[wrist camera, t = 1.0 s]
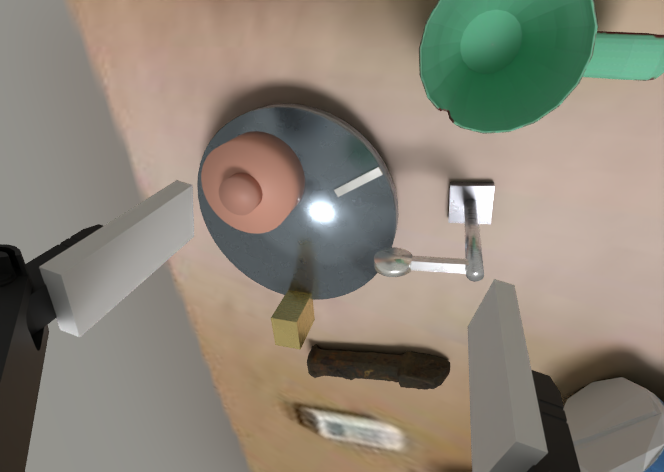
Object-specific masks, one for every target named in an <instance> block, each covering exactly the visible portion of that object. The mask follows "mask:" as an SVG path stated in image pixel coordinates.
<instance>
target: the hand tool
mask: <svg viewBox="0 0 664 472" xmlns="http://www.w3.org/2000/svg"><path fill="white" fill-rule="evenodd" d="M307 366H308V371H309V374H310V375H311V376H313V377H314V378H316V377H320V376H334V377H343V378H345V379H350V380H353V379H354V378H358V379H360V378H362V379H374V380H385V381H386V380H387V381H394V382H399V384H400V387H405V388H417V389H429V388H430V389H434V388H436V387H437V386H440V385H441V384H442V383H443V381H444V380H445V379H446V377H447V376H448V375H449V372H450V362H449V361H447V360H445V359H443V358H440V357H436V356H432V355H426V354H420V353H415V352H411V351H406V352H405V353H404V354H399V355H394V354H384V353H375V352H353V351H343V350H341V351H337V350H322V349H319V348H318V346H317V345H314V346H312V349H311V351H310V353H309V355H308V359H307Z"/></svg>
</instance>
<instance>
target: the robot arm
mask: <svg viewBox="0 0 664 472" xmlns="http://www.w3.org/2000/svg"><path fill="white" fill-rule="evenodd" d="M193 237H194V215H193V187H192V185H191V184H187V183H184V182H181V181H178V180H176V181H175V182H173V183H172V184H170V185H168V186H167V187H165V188H164V189H162V190H160V191H159V192H157V193H156V194H154V195H152V196H151V197H149V198H148V199H146V200H145V201H143V202H141V203H140V204H138V205H137V206H135V207H133V208H132V209H130V210H129V211H127V212H125V213H124V214H122V215H121V216H119V217H118V218H116V219H114V220H113V221H111V222H110V223H108V224H106V225H105V226H102V225H95V226H92V227H89V228H86V229H83V230H81V231H80V232H78V233H77V234H75V235H73V236H71V238H70V239H66V240H65V241H63V242H61V244H60V245H57V246H55V247H53V248H51V249H50V250H48V251H46V252H45V253H43V254H42V255H40V256H38V257H37V258H35V259H33V260H32V261H30V262H28V263H27V264H25V262H24V259H23V257H22V254H21V251H20V250H19V249H18V248H17V247H15V246H11V245H0V472H25V467H26V461H27V455H28V450H29V444H30V438H31V432H32V426H33V421H34V415H35V409H36V403H37V398H38V392H39V386H40V380H41V374H42V369H43V363H44V357H45V352H46V346H47V340H48V334H49V330H48V325H47V324H49V323H50V322H51V321H52V320H54V319H55V318H57V322H58V325H59V327H60V330H62V331H65V332H67V333H70V334H73V335H75V336H78V337H81V336H82V335H83V334H84V333H85V332H86V331H88V330H89V329H90V328H91V327H92V326H93V325H94V324H96V323H97V321H99V320H100V319H101V318H102V317H103V316H105V315H106V314H107V313H108V312H109V311H110V310H111V309H112V308H114V307H115V306H116V305H117V304H118V303H119V302H120V301H121V300H123V298H125V297H126V296H127V295H128V294H129V293H131V292H132V291H133V290H134V289H135V288H136V287H137V286H139V285H140V284H141V283H142V282H143V281H144V280H145V279H146V278H148V277H149V276H150V275H151V274H152V273H153V272H154V271H156V270H157V269H158V268H159V267H160V266H161V265H162V264H163V263H165V262H166V261H167V260H168V259H169V258H170V257H171V256H173V255H174V254H175V253H176V252H177V251H178V250H179V249H180V248H182V247H183V246H184V245H185V244H186V243H187V242H188V241H189V240H191V239H192V238H193ZM468 352H469V384H470V416H471V449H472V472H581V471H580V467H579V463H578V459H577V456H576V452H575V448H574V444H573V440H572V437H571V433H570V429H569V425H568V423H567V418H566V414H565V411H564V410H563V408H564V406H563V402H562V399H561V395H560V392H559V390H558V388H557V387H556V385H555V384H554V382H553V381H552V379H551V378H550V376H548V375H545V374H542V373H539V372H536V371H533V370H531V366H530V361H529V356H528V351H527V346H526V341H525V336H524V331H523V326H522V321H521V316H520V311H519V306H518V301H517V296H516V291H515V286H514V285H512V284H509V283H505V282H502V281H499V280H496V279H494V281H493V283H492V284H491V286H490V288H489V290H488V292H487V293H486V295H485V297H484V299H483V300H482V302H481V304H480V306H479V308H478V309H477V311H476V313H475V315H474V317H473V318H472V320H471V322H470V324H469V325H468Z"/></svg>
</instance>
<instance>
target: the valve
mask: <svg viewBox="0 0 664 472" xmlns="http://www.w3.org/2000/svg"><path fill="white" fill-rule="evenodd" d="M563 410H564V411H565V414H566V418H567V423H568V425H569V429H570V433H571V437H572V440H573V444H574V448H575V452H576V456H577V459H578V463H579V467H580V471H581V472H664V402H663V401H662V400H660V399H659V398H658V397H657V396H656V395H655V394H653V393H652V392H650V391H649V390H647V389H645V388H643V387H641V386H639V385H637V384H635V383H633V382H631V381H629V380H627V379H625V378H623V377H620V378H614V379H608V380H602V381H596V382H592V383H590V384H589V385H587V386H586V387H584V388H583V389H581V390H580V391H578V392H577V393H575V394H574V395H572V396H571V397H570V398H568V399H567V401H566V403H565V406H564V408H563Z"/></svg>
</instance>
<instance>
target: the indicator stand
mask: <svg viewBox="0 0 664 472" xmlns="http://www.w3.org/2000/svg"><path fill="white" fill-rule="evenodd" d="M494 188H495V186H494V182H450V201H449V223H465V252H466V259H458V258H441V257H424V256H412V254H411V253H410V252H409V251H407V250H405V249H402V248H386V249H383V250H380V251H378V252H377V253H376V254H375V256H374V267H375V270H376V271H377V272H378V273H379V274H381V275H384V276H388V277H398V276H403V275H406V274H407V273H409V272H410V271H411V270H418V271H432V272H446V273H461V274H466V276H467V278H468V279H469V280H471V281H480V280H481V279H482V278H483V277H484V270H483V259H482V249H481V239H480V229H479V224H491V216H492V207H493V197H494Z"/></svg>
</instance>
